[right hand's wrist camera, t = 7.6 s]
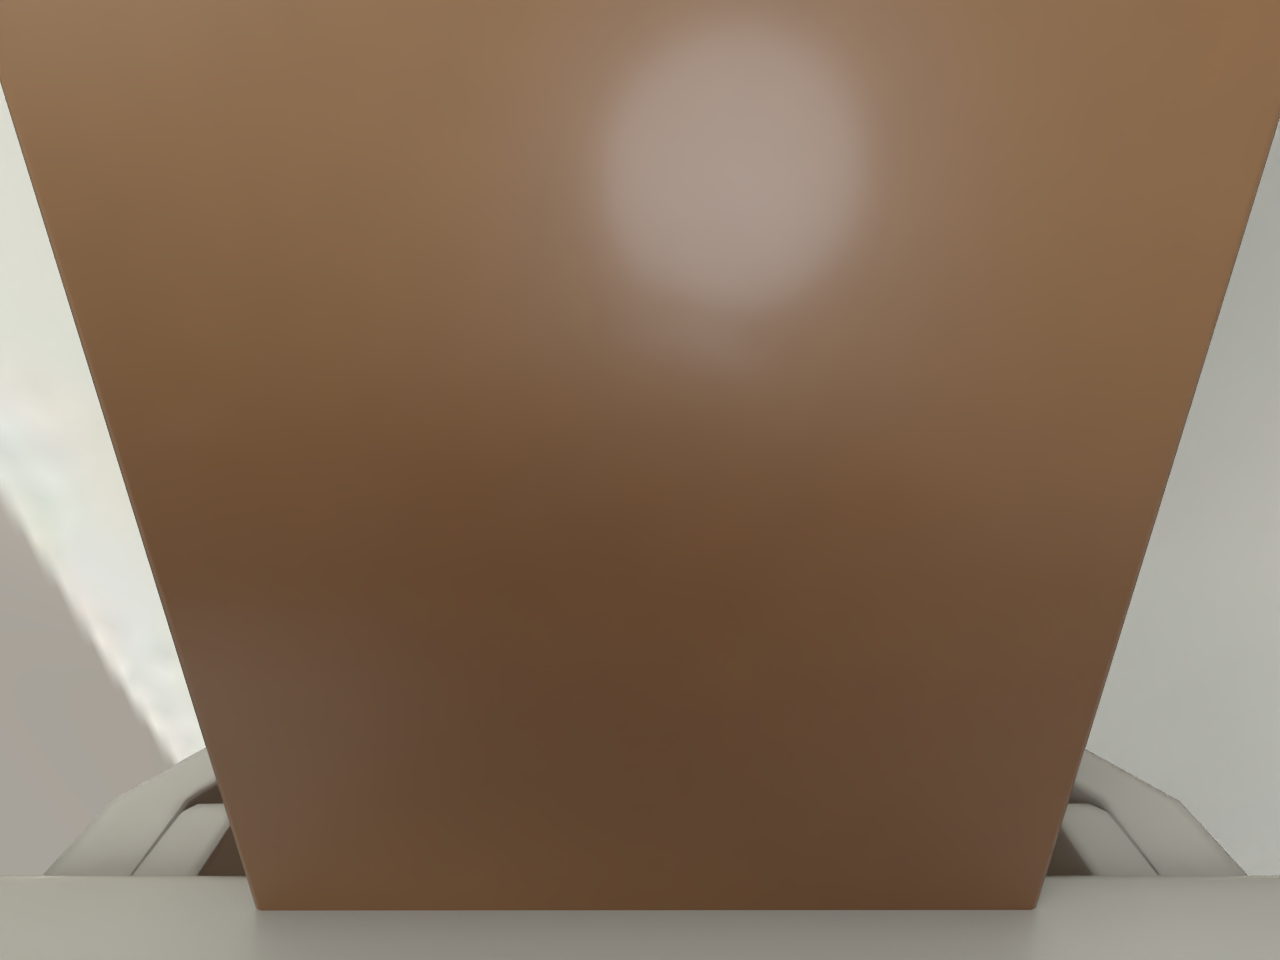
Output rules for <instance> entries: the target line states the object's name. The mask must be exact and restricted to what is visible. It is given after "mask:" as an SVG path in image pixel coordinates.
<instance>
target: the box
mask: <svg viewBox="0 0 1280 960" xmlns="http://www.w3.org/2000/svg"><path fill="white" fill-rule="evenodd" d="M0 82H1V86H2V89H3V92H4V95H5V98H6V102H7V105H8V108H9V111H10V115H11V118H12V121H13V124H14V128H15V131H16V134H17V137H18V140H19V144H20V147H21V150H22V153H23V157H24V160H25V163H26V166H27V170H28V173H29V176H30V179H31V183H32V186H33V189H34V192H35V195H36V199H37V202H38V205H39V208H40V212H41V215H42V218H43V221H44V225H45V228H46V231H47V234H48V237H49V241H50V244H51V247H52V250H53V254H54V257H55V260H56V263H57V267H58V270H59V273H60V276H61V280H62V283H63V286H64V289H65V292H66V296H67V299H68V302H69V305H70V309H71V312H72V315H73V318H74V322H75V325H76V328H77V331H78V334H79V338H80V341H81V344H82V347H83V351H84V354H85V357H86V360H87V364H88V367H89V370H90V373H91V376H92V380H93V383H94V386H95V389H96V393H97V396H98V399H99V402H100V406H101V409H102V412H103V415H104V419H105V422H106V425H107V428H108V431H109V435H110V438H111V441H112V444H113V448H114V451H115V454H116V457H117V461H118V464H119V467H120V470H121V473H122V477H123V480H124V483H125V486H126V490H127V493H128V496H129V499H130V503H131V506H132V509H133V512H134V516H135V519H136V522H137V525H138V528H139V532H140V535H141V538H142V541H143V545H144V548H145V551H146V554H147V558H148V561H149V564H150V567H151V570H152V574H153V577H154V580H155V583H156V587H157V590H158V593H159V596H160V600H161V603H162V606H163V609H164V613H165V616H166V619H167V622H168V625H169V629H170V632H171V635H172V638H173V642H174V645H175V648H176V651H177V655H178V658H179V661H180V664H181V667H182V671H183V674H184V677H185V680H186V684H187V687H188V690H189V693H190V697H191V700H192V703H193V706H194V709H195V713H196V716H197V719H198V722H199V726H200V729H201V732H202V735H203V739H204V742H205V745H206V748H207V752H208V755H209V758H210V761H211V764H212V768H213V771H214V774H215V777H216V781H217V784H218V787H219V790H220V794H221V797H222V800H223V803H224V806H225V810H226V813H227V816H228V819H229V823H230V826H231V829H232V832H233V836H234V839H235V842H236V845H237V849H238V852H239V855H240V858H241V861H242V865H243V868H244V871H245V874H246V878H247V881H248V884H249V887H250V891H251V894H252V897H253V900H254V903H255V907H256V909H259V910H261V911H360V910H1032V909H1034V908H1036V906H1037V902H1038V899H1039V896H1040V893H1041V889H1042V886H1043V883H1044V880H1045V876H1046V873H1047V870H1048V867H1049V864H1050V860H1051V857H1052V854H1053V851H1054V847H1055V844H1056V841H1057V838H1058V834H1059V831H1060V828H1061V825H1062V821H1063V818H1064V815H1065V812H1066V808H1067V805H1068V802H1069V799H1070V795H1071V792H1072V789H1073V786H1074V782H1075V779H1076V776H1077V773H1078V770H1079V766H1080V763H1081V760H1082V757H1083V753H1084V750H1085V747H1086V744H1087V740H1088V737H1089V734H1090V731H1091V727H1092V724H1093V721H1094V718H1095V714H1096V711H1097V708H1098V705H1099V701H1100V698H1101V695H1102V692H1103V689H1104V685H1105V682H1106V679H1107V676H1108V672H1109V669H1110V666H1111V663H1112V659H1113V656H1114V653H1115V650H1116V646H1117V643H1118V640H1119V637H1120V633H1121V630H1122V627H1123V624H1124V620H1125V617H1126V614H1127V611H1128V607H1129V604H1130V601H1131V598H1132V595H1133V591H1134V588H1135V585H1136V582H1137V578H1138V575H1139V572H1140V569H1141V565H1142V562H1143V559H1144V556H1145V552H1146V549H1147V546H1148V543H1149V539H1150V536H1151V533H1152V530H1153V526H1154V523H1155V520H1156V517H1157V514H1158V510H1159V507H1160V504H1161V501H1162V497H1163V494H1164V491H1165V488H1166V484H1167V481H1168V478H1169V475H1170V471H1171V468H1172V465H1173V462H1174V458H1175V455H1176V452H1177V449H1178V445H1179V442H1180V439H1181V436H1182V432H1183V429H1184V426H1185V423H1186V420H1187V416H1188V413H1189V410H1190V407H1191V403H1192V400H1193V397H1194V394H1195V390H1196V387H1197V384H1198V381H1199V377H1200V374H1201V371H1202V368H1203V364H1204V361H1205V358H1206V355H1207V351H1208V348H1209V345H1210V342H1211V339H1212V335H1213V332H1214V329H1215V326H1216V322H1217V319H1218V316H1219V313H1220V309H1221V306H1222V303H1223V300H1224V296H1225V293H1226V290H1227V287H1228V283H1229V280H1230V277H1231V274H1232V270H1233V267H1234V264H1235V261H1236V257H1237V254H1238V251H1239V248H1240V245H1241V241H1242V238H1243V235H1244V232H1245V228H1246V225H1247V222H1248V219H1249V215H1250V212H1251V209H1252V206H1253V202H1254V199H1255V196H1256V193H1257V189H1258V186H1259V183H1260V180H1261V176H1262V173H1263V170H1264V167H1265V163H1266V160H1267V157H1268V154H1269V151H1270V147H1271V144H1272V141H1273V138H1274V134H1275V131H1276V128H1277V125H1278V121H1279V118H1280V0H0Z"/></svg>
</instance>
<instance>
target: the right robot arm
mask: <svg viewBox="0 0 1280 960" xmlns="http://www.w3.org/2000/svg"><path fill="white" fill-rule="evenodd" d="M0 960H1280V876H1248V875H1247V874H1246V873H1245V872H1244V871H1243V870H1242V869H1241V867H1240V866H1239V865H1238V864H1237V863H1236V862H1235V861H1234V860H1233V859H1232V858H1231V857H1230V855H1229V854H1228V853H1227V852H1226V851H1225V850H1224V849H1223V848H1222V847H1221V846H1220V845H1219V843H1218V842H1217V841H1216V840H1215V839H1214V838H1213V837H1212V836H1211V835H1210V834H1209V833H1208V831H1207V830H1206V829H1205V828H1204V827H1203V826H1202V825H1201V824H1200V823H1199V822H1198V821H1197V819H1196V818H1195V817H1194V816H1193V815H1192V814H1191V813H1190V812H1189V811H1188V810H1187V809H1186V807H1185V806H1184V805H1183V804H1182V803H1181V802H1180V801H1178V800H1176V799H1174V798H1173V797H1171V796H1169V795H1167V794H1165V793H1164V792H1162V791H1160V790H1158V789H1156V788H1155V787H1153V786H1151V785H1149V784H1147V783H1146V782H1144V781H1142V780H1140V779H1138V778H1136V777H1135V776H1133V775H1131V774H1129V773H1127V772H1126V771H1124V770H1122V769H1120V768H1118V767H1117V766H1115V765H1113V764H1111V763H1109V762H1108V761H1106V760H1104V759H1102V758H1100V757H1098V756H1097V755H1095V754H1093V753H1091V752H1089V751H1088V750H1086V749H1085V750H1084V753H1083V757H1082V760H1081V763H1080V766H1079V770H1078V773H1077V776H1076V779H1075V782H1074V786H1073V789H1072V792H1071V795H1070V799H1069V802H1068V805H1067V808H1066V812H1065V815H1064V818H1063V821H1062V825H1061V828H1060V831H1059V834H1058V838H1057V841H1056V844H1055V847H1054V851H1053V854H1052V857H1051V860H1050V864H1049V867H1048V870H1047V873H1046V876H1045V880H1044V883H1043V886H1042V889H1041V893H1040V896H1039V899H1038V902H1037V906H1036V908H1034V909H1032V910H360V911H261V910H259V909H256V907H255V903H254V900H253V897H252V894H251V891H250V887H249V884H248V881H247V878H246V874H245V871H244V868H243V865H242V861H241V858H240V855H239V852H238V849H237V845H236V842H235V839H234V836H233V832H232V829H231V826H230V823H229V819H228V816H227V813H226V810H225V806H224V803H223V800H222V797H221V794H220V790H219V787H218V784H217V781H216V777H215V774H214V771H213V768H212V764H211V761H210V758H209V755H208V752H207V748H204V749H202V750H200V751H199V752H197V753H195V754H193V755H191V756H190V757H188V758H186V759H184V760H182V761H181V762H179V763H177V764H175V765H173V766H172V767H170V768H168V769H166V770H165V771H163V772H161V773H159V774H157V775H156V776H154V777H152V778H150V779H148V780H147V781H145V782H143V783H141V784H139V785H138V786H136V787H134V788H132V789H130V790H129V791H127V792H125V793H123V794H121V795H120V796H118V797H116V798H114V799H112V800H111V801H110V802H109V803H108V804H107V805H106V806H105V807H104V808H103V809H102V811H101V812H100V813H99V814H98V815H97V816H96V817H95V818H94V819H93V820H92V822H91V823H90V824H89V825H88V826H87V827H86V828H85V829H84V830H83V831H82V833H81V834H80V835H79V836H78V837H77V838H76V839H75V840H74V841H73V843H72V844H71V845H70V846H69V847H68V848H67V849H66V850H65V851H64V852H63V854H62V855H61V856H60V857H59V858H58V859H57V860H56V861H55V862H54V863H53V865H52V866H51V867H50V868H49V869H48V870H47V871H46V872H45V873H44V875H43V876H0Z"/></svg>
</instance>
